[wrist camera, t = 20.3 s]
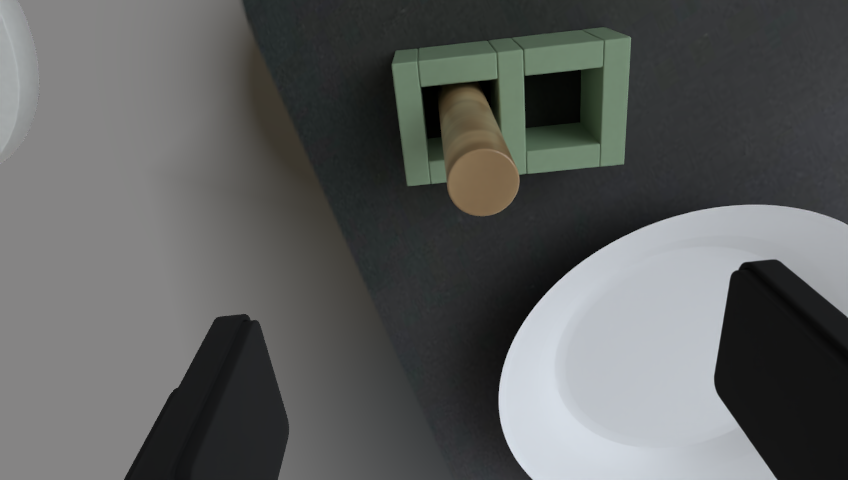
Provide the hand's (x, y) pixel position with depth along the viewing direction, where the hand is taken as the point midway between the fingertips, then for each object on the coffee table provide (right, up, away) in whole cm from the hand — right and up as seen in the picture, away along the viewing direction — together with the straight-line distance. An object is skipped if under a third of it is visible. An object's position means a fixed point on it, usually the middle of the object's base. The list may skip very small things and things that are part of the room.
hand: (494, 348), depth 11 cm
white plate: (+16, -5, +27) cm, 32 cm away
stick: (+1, +10, +19) cm, 21 cm away
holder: (+3, +10, +19) cm, 21 cm away
